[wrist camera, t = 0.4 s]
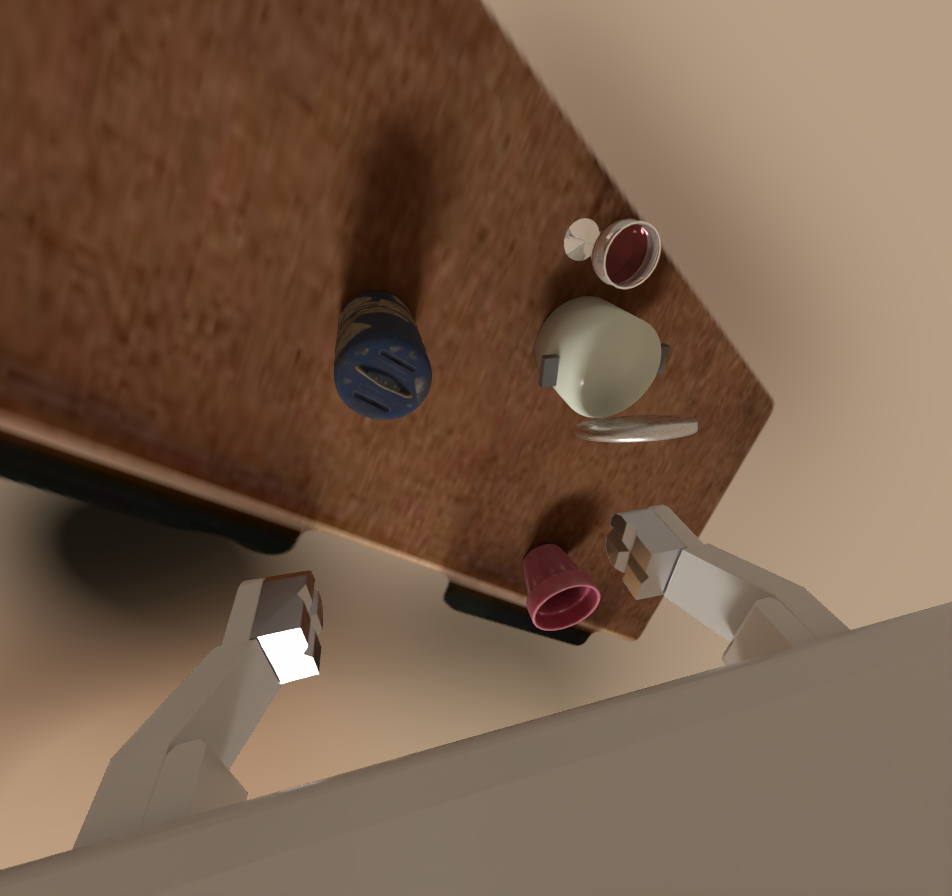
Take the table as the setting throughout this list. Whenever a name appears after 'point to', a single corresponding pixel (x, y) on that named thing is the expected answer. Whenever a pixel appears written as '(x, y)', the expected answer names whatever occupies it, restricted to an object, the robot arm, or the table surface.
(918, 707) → the robot arm
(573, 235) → the wineglass
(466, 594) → the table surface
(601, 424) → the lid
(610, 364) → the pot
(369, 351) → the canister
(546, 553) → the plant pot
